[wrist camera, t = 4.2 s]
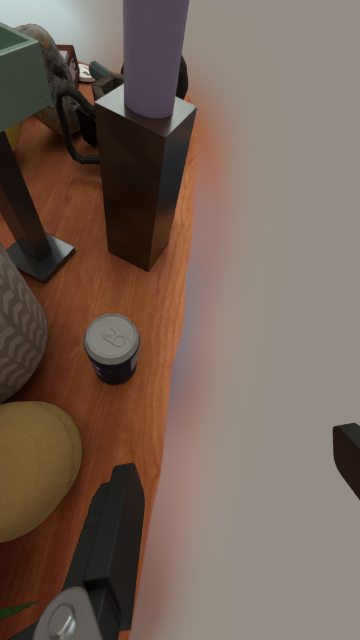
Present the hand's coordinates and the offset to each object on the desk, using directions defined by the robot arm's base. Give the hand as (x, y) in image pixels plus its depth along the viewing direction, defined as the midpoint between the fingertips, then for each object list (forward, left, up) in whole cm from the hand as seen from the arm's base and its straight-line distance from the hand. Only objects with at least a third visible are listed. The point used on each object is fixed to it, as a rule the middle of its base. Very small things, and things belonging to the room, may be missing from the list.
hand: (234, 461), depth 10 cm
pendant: (-62, +71, -24) cm, 97 cm away
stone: (-51, +42, -19) cm, 69 cm away
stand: (-18, +27, -25) cm, 41 cm away
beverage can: (-10, +6, -25) cm, 28 cm away
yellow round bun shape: (-13, -9, -15) cm, 22 cm away
